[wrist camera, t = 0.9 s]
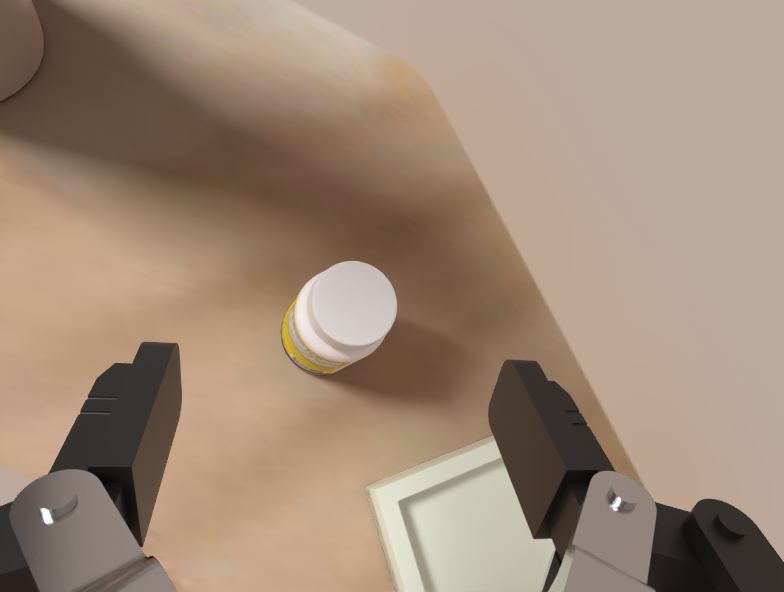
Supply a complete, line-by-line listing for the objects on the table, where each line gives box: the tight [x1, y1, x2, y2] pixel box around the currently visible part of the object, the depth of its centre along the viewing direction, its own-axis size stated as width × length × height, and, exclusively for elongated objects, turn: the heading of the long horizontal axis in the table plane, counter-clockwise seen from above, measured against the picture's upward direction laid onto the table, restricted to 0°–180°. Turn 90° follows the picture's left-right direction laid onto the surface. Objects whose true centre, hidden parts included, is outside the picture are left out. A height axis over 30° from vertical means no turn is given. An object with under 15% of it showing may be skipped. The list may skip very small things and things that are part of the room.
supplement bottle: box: [280, 261, 397, 375], centre depth 28 cm, size 5×5×8 cm
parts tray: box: [365, 435, 555, 592], centre depth 31 cm, size 12×12×2 cm
